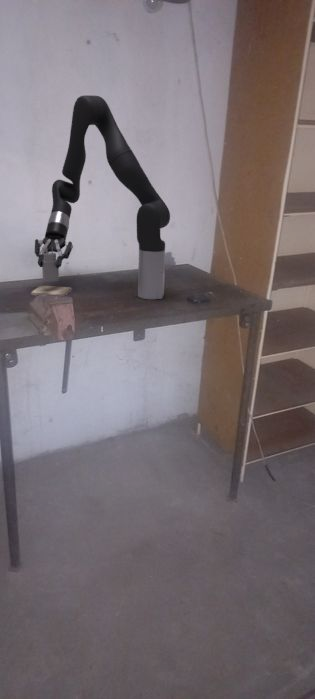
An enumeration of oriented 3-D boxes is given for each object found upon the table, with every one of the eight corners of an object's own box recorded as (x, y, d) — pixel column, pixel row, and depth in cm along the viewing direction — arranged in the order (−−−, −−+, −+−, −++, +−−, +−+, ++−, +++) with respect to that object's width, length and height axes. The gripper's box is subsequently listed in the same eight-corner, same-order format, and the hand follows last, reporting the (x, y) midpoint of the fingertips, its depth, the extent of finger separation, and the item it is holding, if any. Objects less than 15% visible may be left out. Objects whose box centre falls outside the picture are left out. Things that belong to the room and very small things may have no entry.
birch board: (71, 290, 194) (71, 287, 194) (63, 297, 185) (63, 294, 184) (40, 287, 195) (40, 285, 195) (31, 295, 186) (30, 292, 186)
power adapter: (59, 280, 188) (58, 247, 184) (45, 281, 186) (43, 248, 181) (56, 278, 191) (55, 245, 186) (42, 279, 188) (40, 246, 184)
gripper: (36, 219, 188) (26, 259, 182) (74, 222, 187) (66, 262, 180) (41, 232, 195) (32, 270, 189) (78, 234, 194) (70, 273, 187)
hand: (48, 266), depth 185 cm, fingers closed on power adapter, 5 cm apart
